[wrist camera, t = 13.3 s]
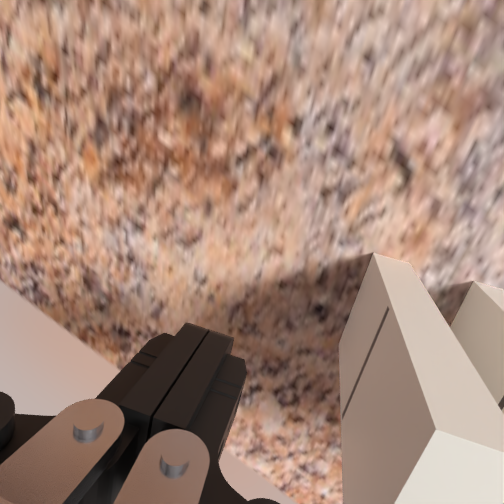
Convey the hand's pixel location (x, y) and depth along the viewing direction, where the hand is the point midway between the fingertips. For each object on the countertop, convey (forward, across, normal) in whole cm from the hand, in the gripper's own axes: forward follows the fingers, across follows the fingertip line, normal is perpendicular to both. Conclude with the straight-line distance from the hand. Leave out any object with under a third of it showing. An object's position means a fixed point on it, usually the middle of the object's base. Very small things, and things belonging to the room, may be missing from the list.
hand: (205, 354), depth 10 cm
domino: (+7, -6, 0) cm, 9 cm away
